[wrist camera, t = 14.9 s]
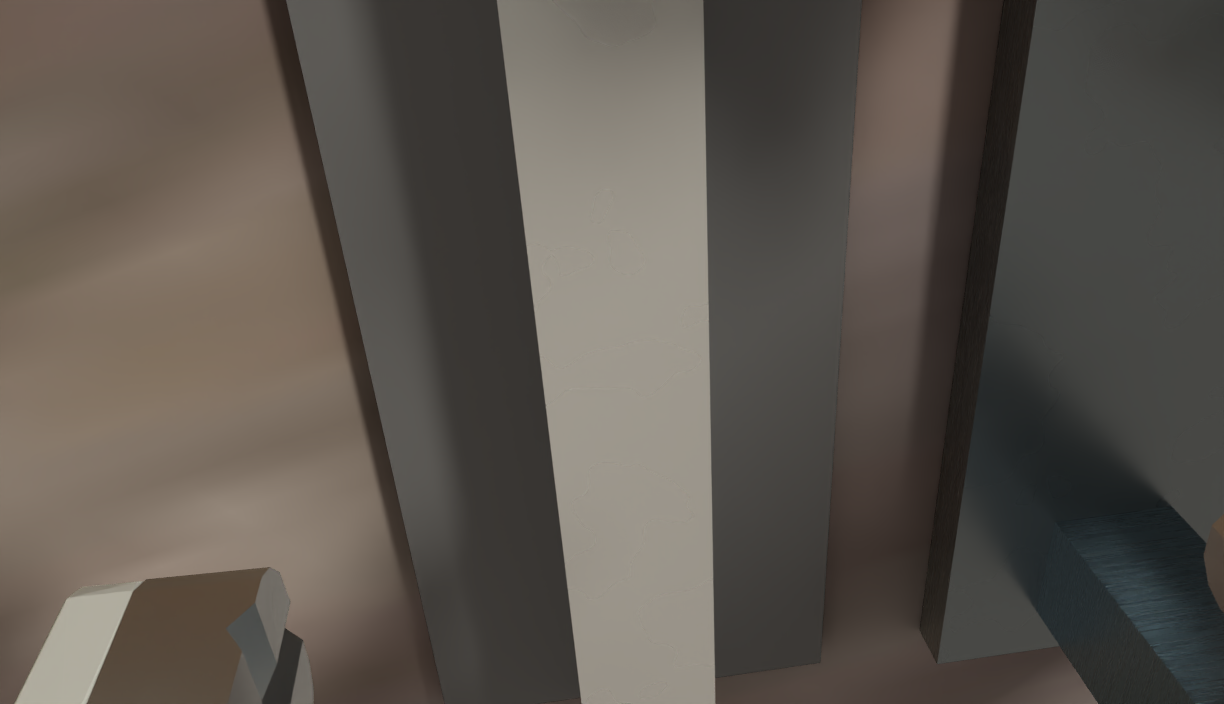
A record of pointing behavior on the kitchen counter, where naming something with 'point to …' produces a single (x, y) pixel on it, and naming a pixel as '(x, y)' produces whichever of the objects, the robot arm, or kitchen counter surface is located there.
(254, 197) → the kitchen counter surface
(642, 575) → the rail
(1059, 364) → the rack
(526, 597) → the mat
